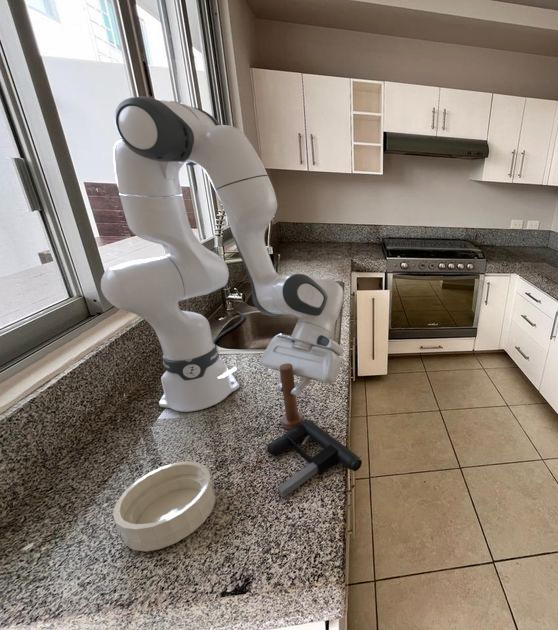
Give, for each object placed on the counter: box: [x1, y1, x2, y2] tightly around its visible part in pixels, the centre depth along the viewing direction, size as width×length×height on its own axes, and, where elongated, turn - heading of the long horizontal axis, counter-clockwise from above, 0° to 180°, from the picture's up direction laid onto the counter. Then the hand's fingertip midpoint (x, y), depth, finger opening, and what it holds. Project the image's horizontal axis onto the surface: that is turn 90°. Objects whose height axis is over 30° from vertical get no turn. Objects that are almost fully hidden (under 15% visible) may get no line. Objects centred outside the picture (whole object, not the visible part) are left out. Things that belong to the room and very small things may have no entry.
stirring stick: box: [279, 363, 305, 430], centre depth 82 cm, size 5×5×16 cm
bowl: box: [112, 460, 217, 552], centre depth 60 cm, size 14×14×6 cm
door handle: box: [266, 419, 363, 499], centre depth 73 cm, size 3×20×16 cm
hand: (287, 393), depth 81 cm, fingers closed on stirring stick, 3 cm apart
